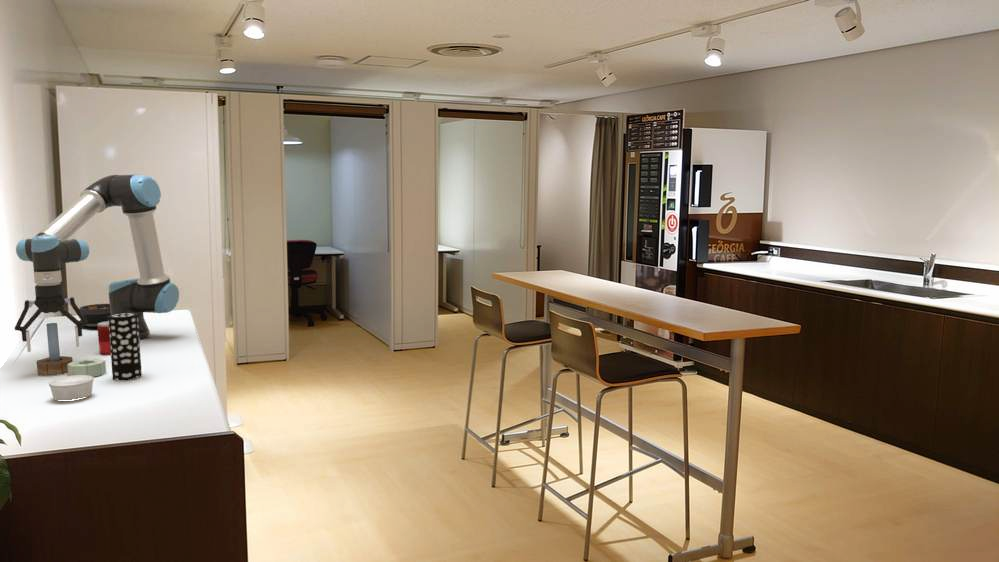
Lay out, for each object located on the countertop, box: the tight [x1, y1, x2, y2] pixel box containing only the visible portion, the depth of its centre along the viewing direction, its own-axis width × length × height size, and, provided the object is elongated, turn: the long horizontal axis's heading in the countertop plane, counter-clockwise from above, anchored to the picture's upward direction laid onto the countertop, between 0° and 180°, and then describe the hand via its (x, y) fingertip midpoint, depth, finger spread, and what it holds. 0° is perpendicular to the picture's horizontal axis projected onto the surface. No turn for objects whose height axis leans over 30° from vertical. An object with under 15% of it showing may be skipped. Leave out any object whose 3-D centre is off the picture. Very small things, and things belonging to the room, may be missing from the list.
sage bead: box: [67, 358, 107, 378], centre depth 240 cm, size 10×10×4 cm
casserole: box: [78, 303, 111, 328], centre depth 323 cm, size 25×19×8 cm
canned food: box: [97, 321, 111, 356], centre depth 271 cm, size 8×8×11 cm
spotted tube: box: [108, 313, 143, 381], centre depth 236 cm, size 8×8×20 cm
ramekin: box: [48, 375, 95, 401], centre depth 215 cm, size 11×11×5 cm
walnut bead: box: [36, 355, 74, 376], centre depth 244 cm, size 10×10×4 cm
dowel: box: [46, 322, 61, 362], centre depth 243 cm, size 3×3×16 cm
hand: (53, 348), depth 243 cm, fingers open, 13 cm apart
